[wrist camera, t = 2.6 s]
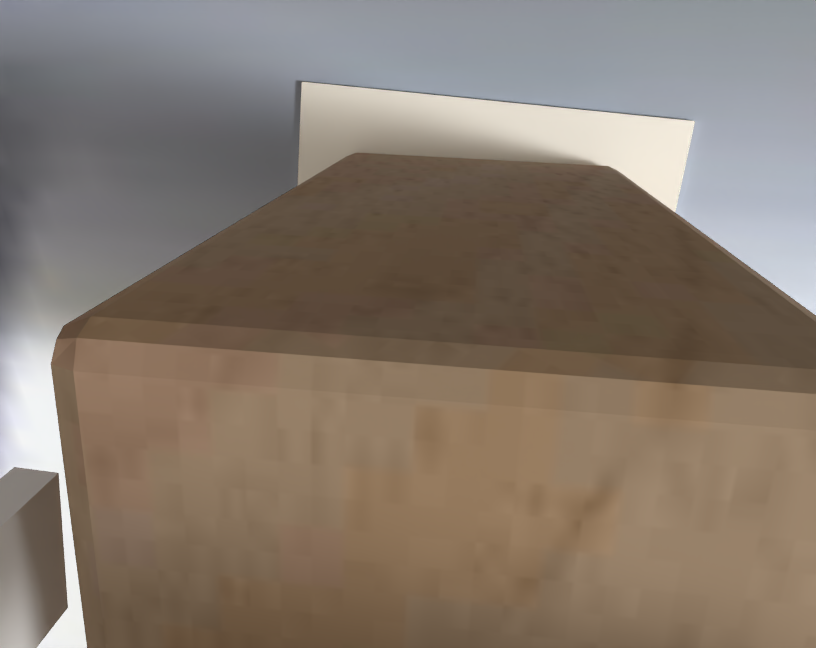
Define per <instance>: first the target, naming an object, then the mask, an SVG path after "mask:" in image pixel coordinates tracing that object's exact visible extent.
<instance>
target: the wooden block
mask: <svg viewBox="0 0 816 648" xmlns="http://www.w3.org/2000/svg"><path fill="white" fill-rule="evenodd" d="M51 369H52V376H53V384H54V392H55V400H56V408H57V415H58V423H59V431H60V439H61V446H62V454H63V462H64V470H65V478H66V485H67V493H68V501H69V509H70V516H71V524H72V532H73V540H74V548H75V555H76V563H77V571H78V579H79V586H80V594H81V602H82V610H83V618H84V625H85V633H86V641H87V648H816V315H814V314H813V313H811V312H810V311H809V310H807V309H806V308H805V307H803V306H802V305H801V304H799V303H798V302H796V301H795V300H794V299H792V298H791V297H790V296H788V295H787V294H786V293H784V292H783V291H781V290H780V289H779V288H777V287H776V286H775V285H773V284H772V283H771V282H769V281H768V280H766V279H765V278H764V277H762V276H761V275H760V274H758V273H757V272H756V271H754V270H753V269H751V268H750V267H749V266H747V265H746V264H745V263H743V262H742V261H740V260H739V259H738V258H736V257H735V256H734V255H732V254H731V253H730V252H728V251H727V250H725V249H724V248H723V247H721V246H720V245H719V244H717V243H716V242H715V241H713V240H712V239H710V238H709V237H708V236H706V235H705V234H704V233H702V232H701V231H700V230H698V229H697V228H695V227H694V226H693V225H691V224H690V223H689V222H687V221H686V220H685V219H683V218H682V217H680V216H679V215H678V214H676V213H675V212H674V211H672V210H671V209H669V208H668V207H667V206H665V205H664V204H663V203H661V202H660V201H659V200H657V199H656V198H654V197H653V196H652V195H650V194H649V193H648V192H646V191H645V190H644V189H642V188H641V187H639V186H638V185H637V184H635V183H634V182H633V181H631V180H630V179H629V178H627V177H626V176H624V175H623V174H622V173H620V172H619V171H617V170H615V169H613V168H611V167H609V166H599V165H580V164H561V163H542V162H524V161H505V160H486V159H467V158H448V157H429V156H411V155H392V154H373V153H354V154H351V155H349V156H346V157H345V158H343V159H341V160H340V161H338V162H336V163H335V164H333V165H331V166H330V167H328V168H326V169H325V170H323V171H321V172H320V173H318V174H316V175H315V176H313V177H311V178H310V179H308V180H306V181H305V182H303V183H301V184H300V185H298V186H296V187H295V188H293V189H291V190H290V191H288V192H286V193H285V194H283V195H281V196H280V197H278V198H276V199H275V200H273V201H271V202H270V203H268V204H266V205H265V206H263V207H261V208H260V209H258V210H256V211H255V212H253V213H251V214H250V215H248V216H246V217H245V218H243V219H241V220H240V221H238V222H236V223H235V224H233V225H231V226H230V227H228V228H226V229H225V230H223V231H221V232H220V233H218V234H216V235H215V236H213V237H211V238H209V239H208V240H206V241H204V242H203V243H201V244H199V245H198V246H196V247H194V248H193V249H191V250H189V251H188V252H186V253H184V254H183V255H181V256H179V257H178V258H176V259H174V260H173V261H171V262H169V263H168V264H166V265H164V266H163V267H161V268H159V269H158V270H156V271H154V272H153V273H151V274H149V275H148V276H146V277H144V278H143V279H141V280H139V281H138V282H136V283H134V284H133V285H131V286H129V287H128V288H126V289H124V290H123V291H121V292H119V293H118V294H116V295H114V296H113V297H111V298H109V299H108V300H106V301H104V302H103V303H101V304H99V305H98V306H96V307H94V308H93V309H91V310H89V311H88V312H86V313H84V314H83V315H81V316H79V317H78V318H76V319H74V320H73V321H71V322H69V323H68V324H66V325H64V326H63V328H62V330H61V332H60V334H59V336H58V337H57V339H56V344H55V348H54V353H53V357H52V362H51Z"/></svg>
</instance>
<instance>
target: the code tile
mask: <svg viewBox="0 0 816 648" xmlns="http://www.w3.org/2000/svg"><path fill="white" fill-rule="evenodd" d="M694 123H695V121H689V120H679V119H670V118H660V117H650V116H640V115H630V114H620V113H610V112H600V111H590V110H580V109H570V108H560V107H550V106H540V105H530V104H520V103H510V102H500V101H490V100H480V99H470V98H460V97H450V96H440V95H431V94H421V93H411V92H401V91H391V90H381V89H371V88H361V87H351V86H341V85H331V84H321V83H311V82H302V90H301V114H300V137H299V161H298V185H300V184H301V183H303V182H305V181H306V180H308V179H310V178H311V177H313V176H315V175H316V174H318V173H320V172H321V171H323V170H325V169H326V168H328V167H330V166H331V165H333V164H335V163H336V162H338V161H340V160H341V159H343V158H345V157H346V156H349V155H351V154H354V153H373V154H392V155H411V156H429V157H448V158H467V159H486V160H505V161H524V162H542V163H561V164H580V165H599V166H609V167H611V168H613V169H615V170H617V171H619V172H620V173H622V174H623V175H624V176H626V177H627V178H629V179H630V180H631V181H633V182H634V183H635V184H637V185H638V186H639V187H641V188H642V189H644V190H645V191H646V192H648V193H649V194H650V195H652V196H653V197H654V198H656V199H657V200H659V201H660V202H661V203H663V204H664V205H665V206H667V207H668V208H669V209H671V210H672V211H674V212H675V211H676V207H677V202H678V197H679V193H680V188H681V183H682V179H683V174H684V169H685V165H686V160H687V156H688V151H689V146H690V142H691V137H692V132H693V128H694ZM298 185H297V186H298Z"/></svg>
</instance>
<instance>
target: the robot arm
mask: <svg viewBox="0 0 816 648" xmlns="http://www.w3.org/2000/svg"><path fill="white" fill-rule="evenodd" d="M67 608H68V604H67V590H66V576H65V561H64V547H63V533H62V518H61V504H60V490H59V475H58V473H54V472H47V471H39V470H32V469H24V468H17V467H14V468H13V469H12V470H10V471H9V472H8V473H7V474H6V475H4V476H3V477H2V478H1V479H0V648H37V646H38V645H39V644H40V642H41V641H42V640H43V639H44V637H45V636H46V635H47V633H48V632H49V631H50V630H51V628H52V627H53V626H54V624H55V623H56V622H57V621H58V619H59V618H60V617H61V616H62V614H63V613H64V612H65V610H66V609H67Z"/></svg>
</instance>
